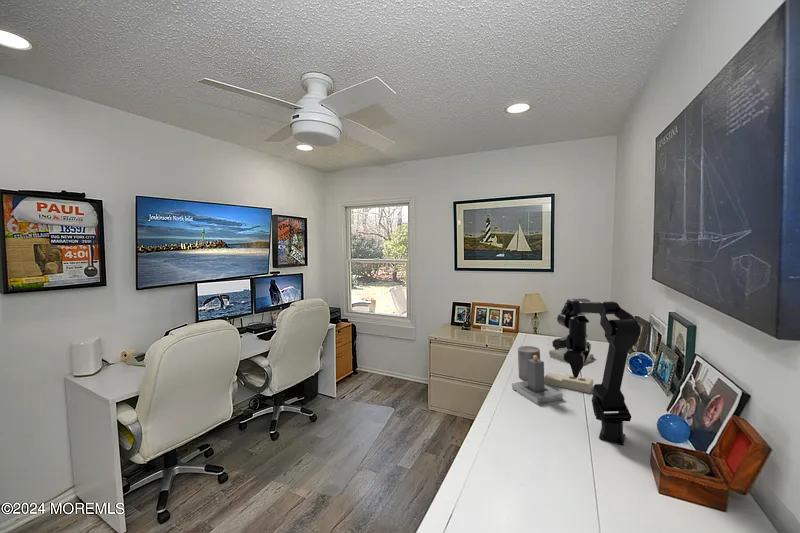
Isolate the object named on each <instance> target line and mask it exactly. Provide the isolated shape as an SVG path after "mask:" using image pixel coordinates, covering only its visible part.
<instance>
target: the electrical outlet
mask: <svg viewBox="0 0 800 533" xmlns="http://www.w3.org/2000/svg"><path fill="white" fill-rule="evenodd" d="M544 384H545V385H550V386H553V387H554V386H556V387H559V388H565V389H570V390H572V391H573V390H574V391H579V392H583V393H588V394H590V393H592V392H593V391H592V390H593V388H594V378H591V377H586V376H585V377H583V376H579V375H578V377H577V378H574V376H573V374H569V373H565V374H560V373H555V372H554V373H553V372H547V374H545V375H544Z"/></svg>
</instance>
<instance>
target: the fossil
mask: <svg viewBox="0 0 800 533" xmlns="http://www.w3.org/2000/svg"><path fill="white" fill-rule="evenodd" d="M568 350H569V349H567V347H566V348H561V349H558V350H555V349H550V350H549V351H548V355H549V356H550V357H552V358H553V359H555V360H557V361H560V362H563V363H565V364H569V363H568V362H566V361H565V360H564V353H565V352H566V351H568ZM595 360H597V359H596V358H595V356H594V354H593V353H589V355H588V357H587V359H586V361H585V364H586V363H590V362H593V361H595Z"/></svg>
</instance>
